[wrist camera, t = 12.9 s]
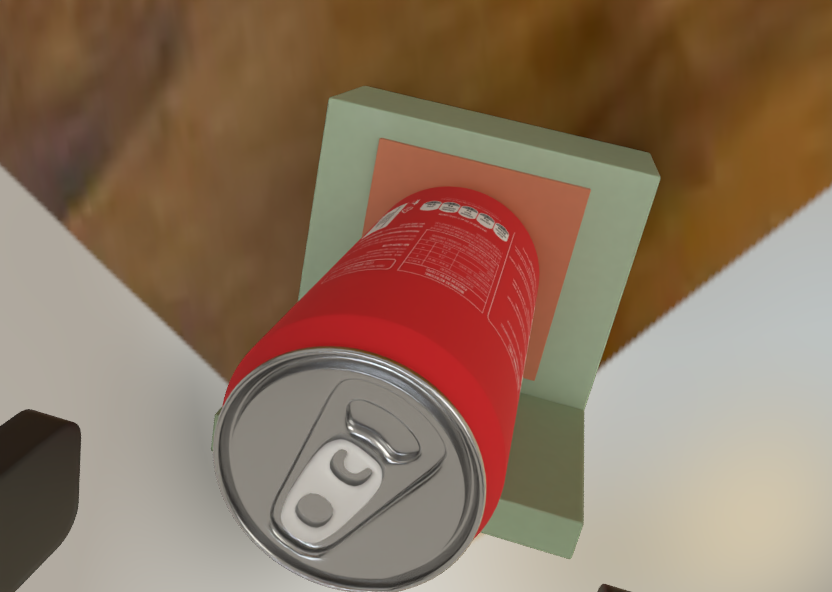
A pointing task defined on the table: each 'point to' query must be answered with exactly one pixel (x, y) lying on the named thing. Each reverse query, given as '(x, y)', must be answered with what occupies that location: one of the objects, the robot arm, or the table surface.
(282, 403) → the beverage can
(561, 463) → the shelf stand
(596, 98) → the table surface
